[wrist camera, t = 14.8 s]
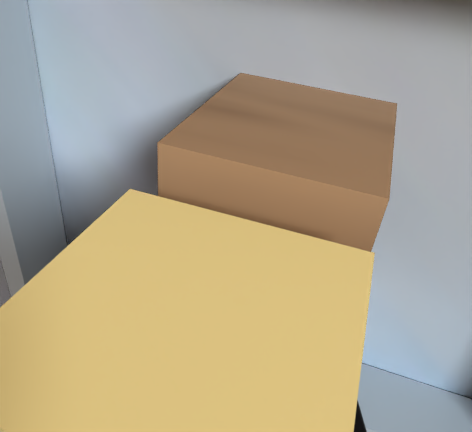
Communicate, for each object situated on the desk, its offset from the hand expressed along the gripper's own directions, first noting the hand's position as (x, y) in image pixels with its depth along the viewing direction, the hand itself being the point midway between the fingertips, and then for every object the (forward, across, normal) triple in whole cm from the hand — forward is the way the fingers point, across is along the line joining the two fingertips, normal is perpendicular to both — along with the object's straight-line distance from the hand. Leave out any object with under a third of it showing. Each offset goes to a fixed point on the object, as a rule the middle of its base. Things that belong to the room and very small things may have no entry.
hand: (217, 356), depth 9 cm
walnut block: (+8, 0, 0) cm, 8 cm away
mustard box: (+1, 0, 0) cm, 1 cm away
